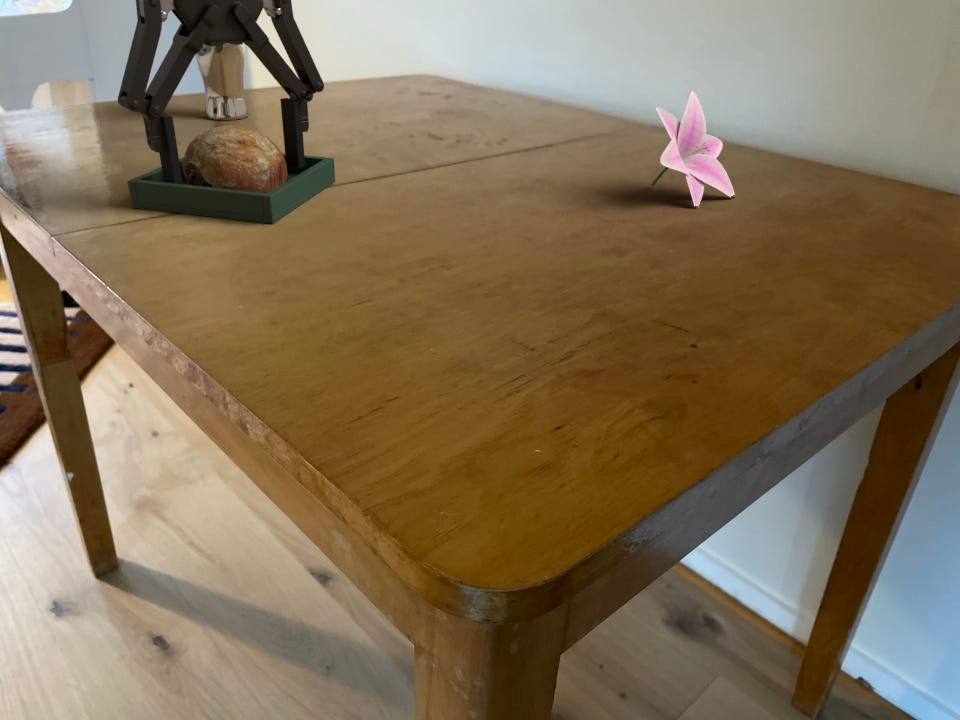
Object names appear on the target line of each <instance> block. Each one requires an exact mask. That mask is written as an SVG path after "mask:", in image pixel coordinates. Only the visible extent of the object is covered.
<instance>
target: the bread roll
mask: <svg viewBox="0 0 960 720" xmlns="http://www.w3.org/2000/svg"><path fill="white" fill-rule="evenodd" d="M282 153H283V152H282V151H281V150H280V148H279V147H278V145H277V144H276V143H275V142H274V141H272V140H271V139H270V137H268V136H266V135H264V134H263V133H261V132H260V131H258V130H256V129H253V128H251V127H247V126H244V125H239V124H238V125H237V124H230V125H221V126H217V127H216V126H215V127H213V128H209V129H207V130H205V131H204V132H203V133H200V134H198V135H197V136H195V137H194V138H193V139H192V140H191V141H190V142H189V144H188V145H187V148H186V150H185V153H184V160H183V163H182V168H183V172H184V176H185V180H186V183H187V185H193V186H202V187H212V188H221V189H230V190H240V191H249V192H258V193H268V192H270V191H271V190H273V189H275V188H276V187H278V186H280V185H282V184H283V183H285V182H286V179H287V165H286V162H285V159H284V156H283V154H282Z"/></svg>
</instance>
